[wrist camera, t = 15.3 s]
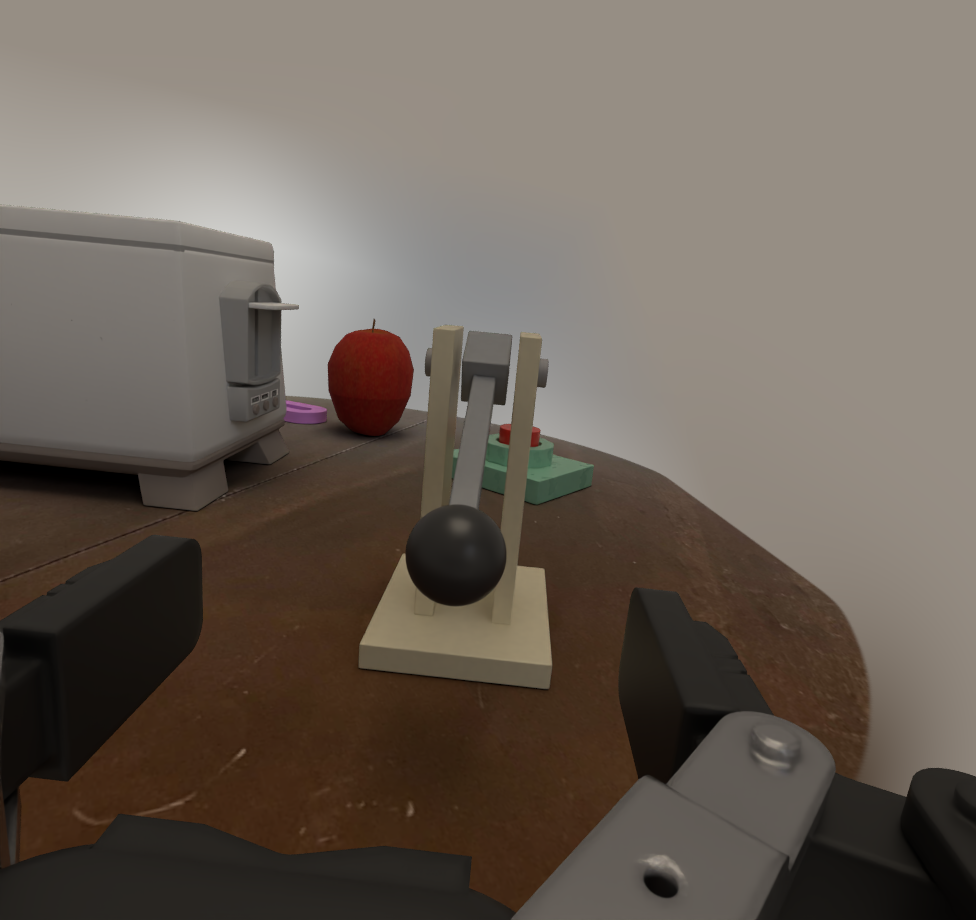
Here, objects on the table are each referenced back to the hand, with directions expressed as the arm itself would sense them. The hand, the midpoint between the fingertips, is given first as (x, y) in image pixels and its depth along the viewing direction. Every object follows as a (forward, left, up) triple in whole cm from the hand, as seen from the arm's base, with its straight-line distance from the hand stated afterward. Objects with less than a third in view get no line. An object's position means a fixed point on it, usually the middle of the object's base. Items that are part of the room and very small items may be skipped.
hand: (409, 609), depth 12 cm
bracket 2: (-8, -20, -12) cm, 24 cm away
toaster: (+17, -53, -12) cm, 57 cm away
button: (-21, -47, -8) cm, 52 cm away
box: (-21, -47, -12) cm, 52 cm away
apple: (-9, -67, -12) cm, 68 cm away
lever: (-6, -15, -2) cm, 17 cm away
